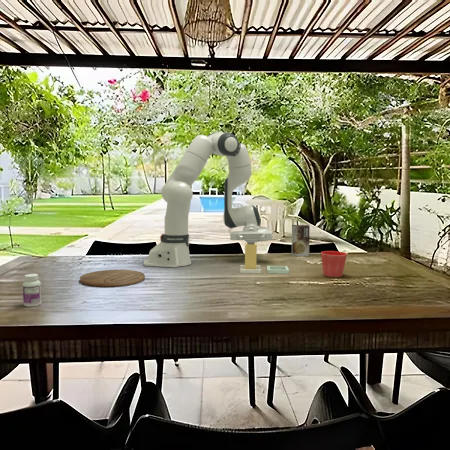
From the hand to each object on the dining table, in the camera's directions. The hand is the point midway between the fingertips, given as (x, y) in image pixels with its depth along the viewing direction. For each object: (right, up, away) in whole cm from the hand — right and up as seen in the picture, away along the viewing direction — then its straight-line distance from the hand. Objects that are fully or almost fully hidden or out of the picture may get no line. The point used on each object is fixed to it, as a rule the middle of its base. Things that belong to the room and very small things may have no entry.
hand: (251, 238), depth 206 cm
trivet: (-57, -16, -30) cm, 67 cm away
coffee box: (+28, -10, +31) cm, 43 cm away
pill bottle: (-74, -19, -65) cm, 100 cm away
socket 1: (-1, -14, -11) cm, 18 cm away
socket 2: (+11, -14, -11) cm, 21 cm away
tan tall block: (-1, -14, -11) cm, 18 cm away
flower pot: (+34, -15, -18) cm, 41 cm away
